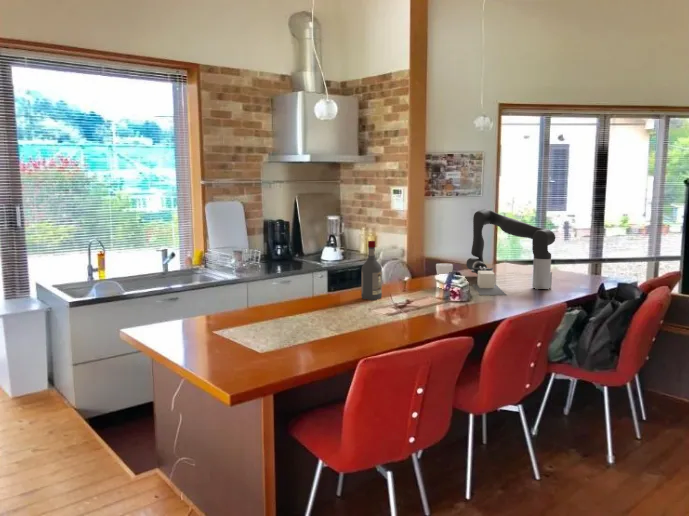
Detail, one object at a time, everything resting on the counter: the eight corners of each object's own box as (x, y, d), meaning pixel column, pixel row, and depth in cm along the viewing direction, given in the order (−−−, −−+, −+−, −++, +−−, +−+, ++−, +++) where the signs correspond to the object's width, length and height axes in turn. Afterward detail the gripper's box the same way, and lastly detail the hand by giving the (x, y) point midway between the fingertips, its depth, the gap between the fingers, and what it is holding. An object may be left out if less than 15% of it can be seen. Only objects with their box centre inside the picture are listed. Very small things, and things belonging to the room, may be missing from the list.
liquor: (359, 299, 303) (359, 241, 298) (367, 295, 311) (367, 239, 306) (375, 300, 298) (376, 242, 294) (383, 297, 306) (383, 240, 302)
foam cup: (432, 286, 335) (432, 264, 334) (445, 285, 339) (446, 263, 337) (441, 289, 327) (442, 266, 325) (455, 287, 331) (456, 265, 329)
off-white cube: (477, 284, 335) (477, 270, 334) (491, 284, 335) (492, 270, 333) (479, 288, 328) (480, 273, 326) (494, 288, 327) (494, 274, 326)
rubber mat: (471, 285, 338) (471, 284, 338) (495, 285, 337) (495, 284, 337) (480, 295, 310) (480, 294, 310) (506, 295, 309) (506, 294, 309)
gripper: (468, 261, 351) (473, 266, 334) (490, 261, 350) (496, 266, 333) (468, 274, 352) (473, 279, 335) (490, 274, 351) (496, 279, 334)
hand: (484, 272), depth 334 cm, fingers closed
